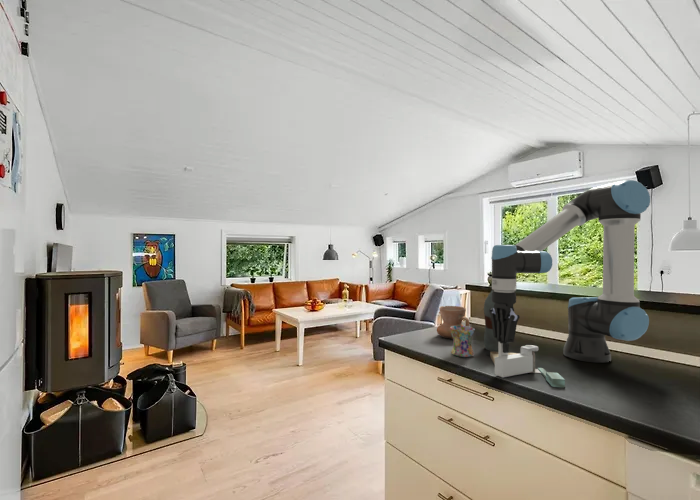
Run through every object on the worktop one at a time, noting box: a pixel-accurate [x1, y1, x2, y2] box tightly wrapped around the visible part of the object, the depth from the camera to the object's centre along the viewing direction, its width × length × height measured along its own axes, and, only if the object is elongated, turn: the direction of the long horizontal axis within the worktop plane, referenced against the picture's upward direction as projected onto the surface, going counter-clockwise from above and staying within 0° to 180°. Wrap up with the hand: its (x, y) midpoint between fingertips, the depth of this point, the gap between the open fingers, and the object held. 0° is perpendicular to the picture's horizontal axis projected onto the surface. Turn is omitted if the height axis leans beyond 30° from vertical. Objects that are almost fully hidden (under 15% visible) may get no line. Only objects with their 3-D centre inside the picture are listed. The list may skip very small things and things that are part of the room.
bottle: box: [483, 288, 498, 352], centre depth 146 cm, size 9×9×30 cm
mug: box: [450, 325, 476, 358], centre depth 138 cm, size 12×9×11 cm
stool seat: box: [489, 351, 566, 388], centre depth 119 cm, size 16×28×7 cm, turn 167°
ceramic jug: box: [436, 305, 470, 340], centre depth 166 cm, size 18×14×14 cm
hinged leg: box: [494, 344, 539, 378], centre depth 116 cm, size 17×4×8 cm, turn 113°
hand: (503, 361), depth 117 cm, fingers closed
